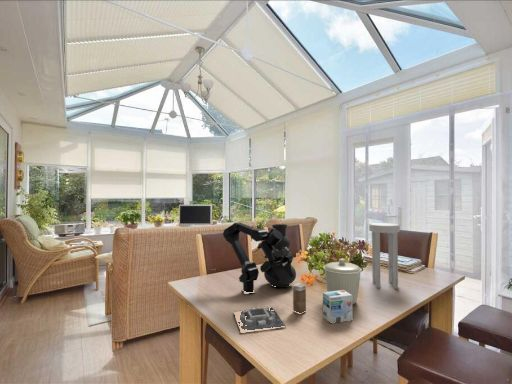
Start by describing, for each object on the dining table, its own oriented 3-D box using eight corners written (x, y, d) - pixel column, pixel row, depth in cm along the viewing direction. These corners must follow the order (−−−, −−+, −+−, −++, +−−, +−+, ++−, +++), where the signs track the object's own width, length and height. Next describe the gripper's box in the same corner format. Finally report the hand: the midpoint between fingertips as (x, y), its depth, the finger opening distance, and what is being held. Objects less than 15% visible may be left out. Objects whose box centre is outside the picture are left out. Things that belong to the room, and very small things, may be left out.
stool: (372, 288, 151) (372, 225, 152) (368, 279, 166) (367, 222, 167) (403, 290, 148) (402, 226, 148) (395, 281, 163) (395, 223, 163)
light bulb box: (330, 324, 110) (330, 297, 110) (322, 317, 116) (322, 291, 116) (353, 320, 113) (353, 294, 113) (344, 314, 119) (343, 289, 119)
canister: (345, 292, 145) (344, 253, 145) (370, 305, 128) (370, 260, 128) (316, 297, 138) (315, 256, 138) (339, 312, 121) (338, 264, 121)
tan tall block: (293, 312, 121) (292, 285, 121) (298, 309, 124) (298, 283, 124) (300, 315, 118) (300, 287, 118) (306, 312, 121) (305, 285, 121)
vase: (302, 288, 152) (301, 225, 152) (272, 293, 145) (271, 227, 145) (286, 279, 169) (286, 222, 169) (259, 282, 162) (258, 224, 162)
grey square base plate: (233, 313, 120) (233, 305, 120) (272, 309, 124) (272, 301, 124) (240, 333, 103) (240, 324, 103) (285, 328, 107) (285, 319, 107)
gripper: (265, 244, 124) (283, 274, 116) (290, 239, 137) (308, 266, 130) (252, 257, 130) (269, 287, 122) (278, 251, 143) (294, 278, 135)
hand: (286, 279), depth 127 cm, fingers open, 9 cm apart
